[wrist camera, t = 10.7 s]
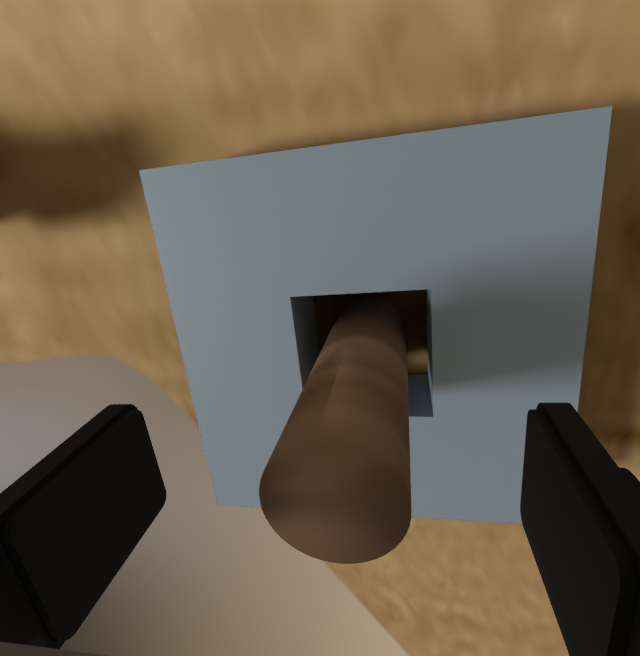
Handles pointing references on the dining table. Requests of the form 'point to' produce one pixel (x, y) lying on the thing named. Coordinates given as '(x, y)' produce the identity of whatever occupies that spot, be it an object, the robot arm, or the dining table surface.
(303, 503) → the peg
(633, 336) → the dining table surface
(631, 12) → the dining table surface
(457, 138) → the socket block
